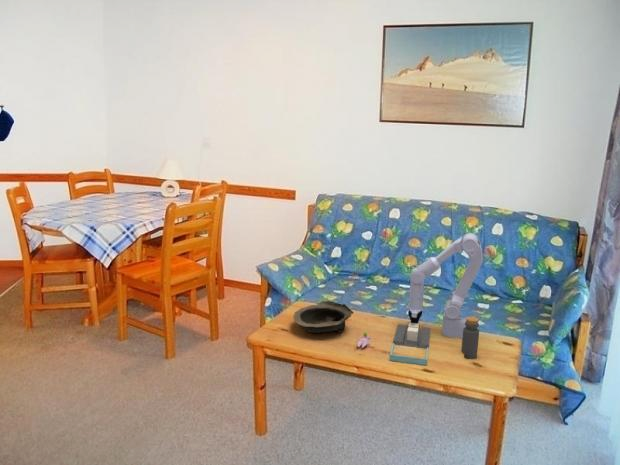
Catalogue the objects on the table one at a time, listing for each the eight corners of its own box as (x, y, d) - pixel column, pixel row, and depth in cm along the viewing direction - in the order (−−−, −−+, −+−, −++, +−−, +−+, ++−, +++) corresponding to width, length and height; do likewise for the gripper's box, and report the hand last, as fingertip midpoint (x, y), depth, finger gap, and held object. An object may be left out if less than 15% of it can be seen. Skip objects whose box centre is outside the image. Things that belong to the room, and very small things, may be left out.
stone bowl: (361, 325, 236) (361, 306, 233) (332, 349, 216) (332, 328, 213) (313, 312, 249) (312, 294, 246) (281, 334, 229) (280, 314, 226)
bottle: (474, 360, 206) (478, 322, 203) (459, 356, 209) (462, 319, 206) (478, 354, 211) (482, 317, 207) (463, 350, 214) (466, 314, 210)
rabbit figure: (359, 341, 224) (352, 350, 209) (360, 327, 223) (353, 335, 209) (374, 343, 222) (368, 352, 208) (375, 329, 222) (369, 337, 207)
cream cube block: (418, 332, 226) (419, 323, 226) (417, 336, 223) (418, 327, 222) (408, 331, 227) (409, 322, 227) (407, 335, 224) (408, 326, 223)
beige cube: (417, 337, 222) (418, 328, 221) (416, 341, 218) (417, 331, 217) (407, 336, 223) (408, 327, 222) (406, 340, 219) (407, 330, 218)
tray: (428, 352, 211) (428, 346, 211) (426, 365, 200) (427, 359, 200) (392, 348, 214) (393, 342, 214) (389, 361, 203) (389, 354, 203)
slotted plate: (430, 334, 228) (430, 328, 228) (428, 352, 211) (428, 345, 211) (397, 330, 232) (397, 324, 231) (392, 348, 215) (393, 340, 214)
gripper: (408, 290, 235) (406, 320, 238) (405, 301, 222) (403, 333, 225) (424, 292, 234) (422, 322, 237) (422, 303, 220) (420, 335, 223)
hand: (414, 327), depth 230 cm, fingers closed
